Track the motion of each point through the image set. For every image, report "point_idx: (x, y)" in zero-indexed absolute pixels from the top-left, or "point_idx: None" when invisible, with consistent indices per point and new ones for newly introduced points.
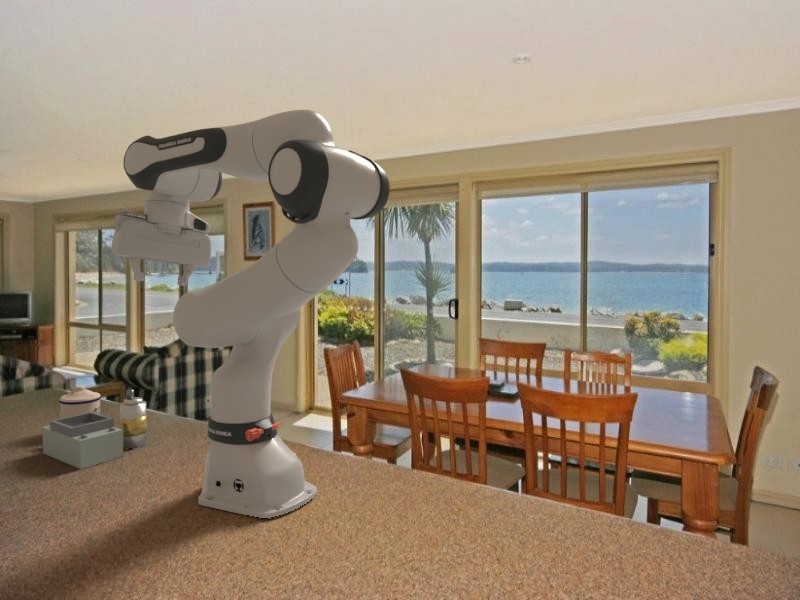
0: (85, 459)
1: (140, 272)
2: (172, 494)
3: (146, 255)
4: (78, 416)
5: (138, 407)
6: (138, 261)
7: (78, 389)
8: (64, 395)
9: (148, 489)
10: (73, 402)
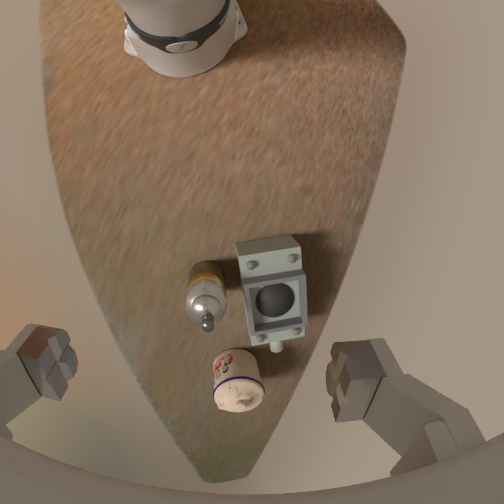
0: (287, 238)
1: (383, 374)
2: (251, 75)
3: (435, 485)
4: (272, 327)
5: (205, 287)
6: (442, 432)
7: (244, 402)
8: (255, 405)
9: (264, 109)
10: (255, 381)
